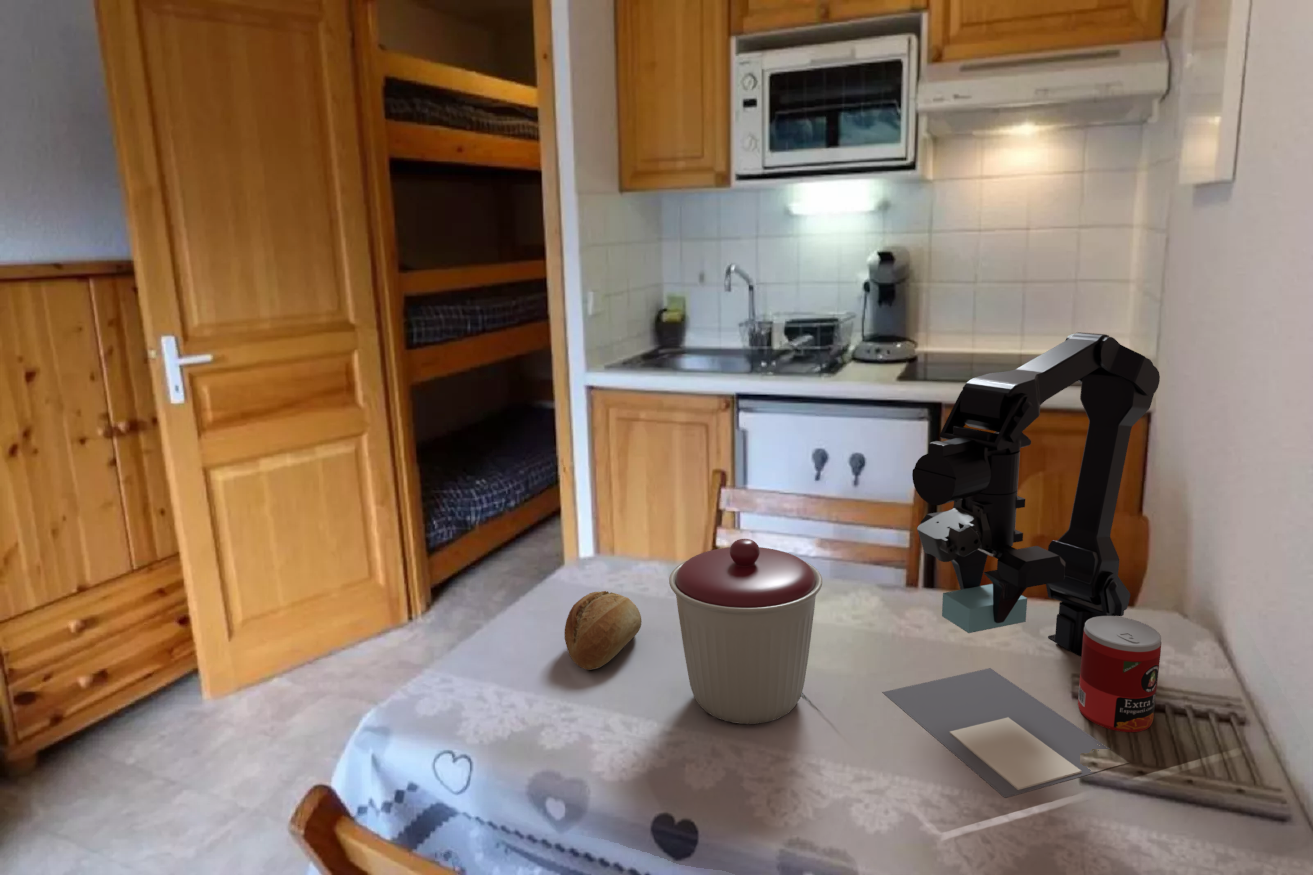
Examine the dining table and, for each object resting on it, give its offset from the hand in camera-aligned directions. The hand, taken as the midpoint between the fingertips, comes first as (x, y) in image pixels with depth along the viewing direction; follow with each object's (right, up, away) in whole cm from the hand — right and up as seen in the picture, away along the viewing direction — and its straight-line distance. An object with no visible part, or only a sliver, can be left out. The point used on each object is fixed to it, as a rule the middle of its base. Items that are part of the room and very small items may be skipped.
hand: (983, 613), depth 103 cm
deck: (0, -1, 0) cm, 1 cm away
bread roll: (-46, -9, +18) cm, 51 cm away
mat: (0, -12, -4) cm, 13 cm away
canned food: (+14, -12, -3) cm, 19 cm away
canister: (-28, -12, +4) cm, 31 cm away
